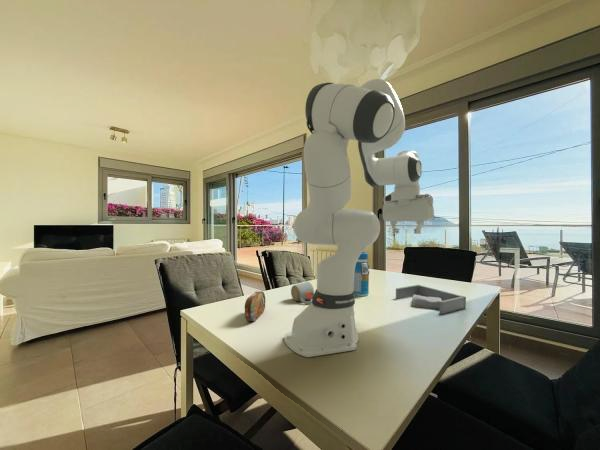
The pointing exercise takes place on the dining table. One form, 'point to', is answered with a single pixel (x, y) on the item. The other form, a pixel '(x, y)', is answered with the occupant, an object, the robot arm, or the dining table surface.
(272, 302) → the dining table surface
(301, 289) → the ceramic mug
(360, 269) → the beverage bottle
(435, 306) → the stone block
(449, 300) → the box
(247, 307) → the tin
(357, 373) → the dining table surface
